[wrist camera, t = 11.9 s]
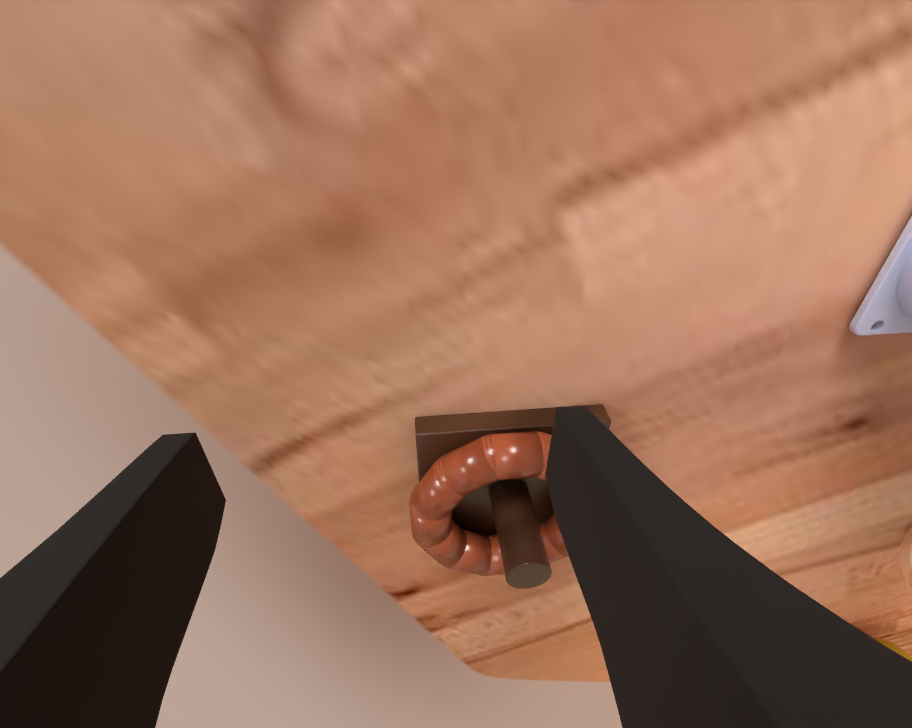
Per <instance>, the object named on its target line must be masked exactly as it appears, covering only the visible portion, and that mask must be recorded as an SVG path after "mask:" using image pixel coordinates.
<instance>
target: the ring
mask: <svg viewBox="0 0 912 728" xmlns="http://www.w3.org/2000/svg"><path fill="white" fill-rule="evenodd" d="M900 561H901V567H902V570H903V573H904V576H905V579H906V581H907V583H908V585H909V586H910V588H911V590H912V528H911V529H910V530H909V531H908V532H907V534H906V535H905V537H904V539H903V541H902V544H901V549H900Z"/></svg>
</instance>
